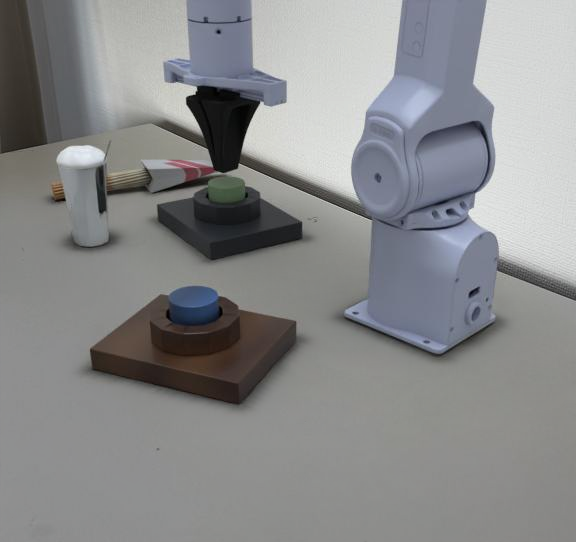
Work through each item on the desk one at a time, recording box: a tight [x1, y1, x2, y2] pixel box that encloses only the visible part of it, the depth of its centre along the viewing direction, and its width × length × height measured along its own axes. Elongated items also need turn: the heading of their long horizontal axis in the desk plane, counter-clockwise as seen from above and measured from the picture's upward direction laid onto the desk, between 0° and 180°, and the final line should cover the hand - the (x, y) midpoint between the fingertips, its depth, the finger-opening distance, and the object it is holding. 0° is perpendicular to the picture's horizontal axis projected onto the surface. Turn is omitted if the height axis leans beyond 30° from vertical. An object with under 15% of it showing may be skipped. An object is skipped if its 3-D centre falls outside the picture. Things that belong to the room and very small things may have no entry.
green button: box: [207, 175, 246, 203], centre depth 85 cm, size 4×4×2 cm
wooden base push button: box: [89, 293, 297, 405], centre depth 64 cm, size 12×10×4 cm
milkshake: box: [56, 138, 113, 248], centre depth 82 cm, size 4×5×10 cm
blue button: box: [168, 285, 219, 326], centre depth 63 cm, size 4×4×2 cm
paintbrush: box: [50, 159, 219, 201], centre depth 97 cm, size 4×3×20 cm
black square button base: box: [156, 185, 303, 260], centre depth 86 cm, size 12×10×4 cm
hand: (226, 169), depth 84 cm, fingers closed
